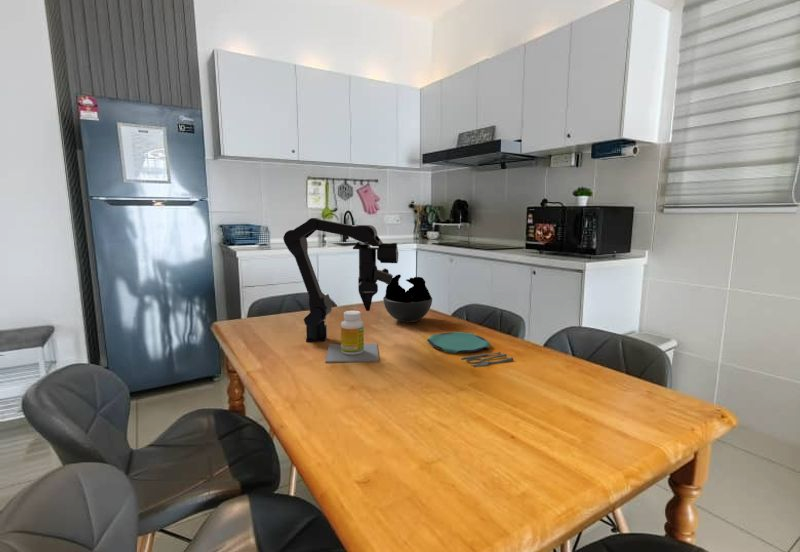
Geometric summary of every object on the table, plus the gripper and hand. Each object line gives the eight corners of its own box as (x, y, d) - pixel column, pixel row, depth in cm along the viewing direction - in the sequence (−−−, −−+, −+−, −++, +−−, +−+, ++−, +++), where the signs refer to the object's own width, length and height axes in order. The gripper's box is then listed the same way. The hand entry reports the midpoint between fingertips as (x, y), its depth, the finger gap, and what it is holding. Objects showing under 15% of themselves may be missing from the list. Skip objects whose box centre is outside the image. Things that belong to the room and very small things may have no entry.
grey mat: (325, 362, 126) (325, 361, 126) (328, 345, 142) (328, 344, 142) (379, 361, 128) (379, 359, 128) (376, 344, 143) (376, 343, 143)
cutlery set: (467, 334, 157) (468, 328, 157) (519, 362, 130) (520, 355, 129) (419, 341, 150) (419, 335, 149) (463, 372, 122) (463, 364, 122)
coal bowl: (437, 326, 167) (439, 279, 164) (387, 329, 163) (388, 281, 160) (424, 314, 186) (425, 272, 183) (379, 316, 182) (379, 273, 179)
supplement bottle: (362, 355, 131) (362, 315, 129) (339, 355, 131) (338, 314, 129) (364, 348, 138) (364, 309, 136) (343, 347, 138) (342, 309, 136)
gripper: (393, 266, 135) (393, 314, 137) (389, 259, 153) (389, 301, 155) (358, 266, 133) (358, 314, 136) (358, 259, 152) (358, 302, 154)
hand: (367, 307), depth 145 cm, fingers open, 9 cm apart
